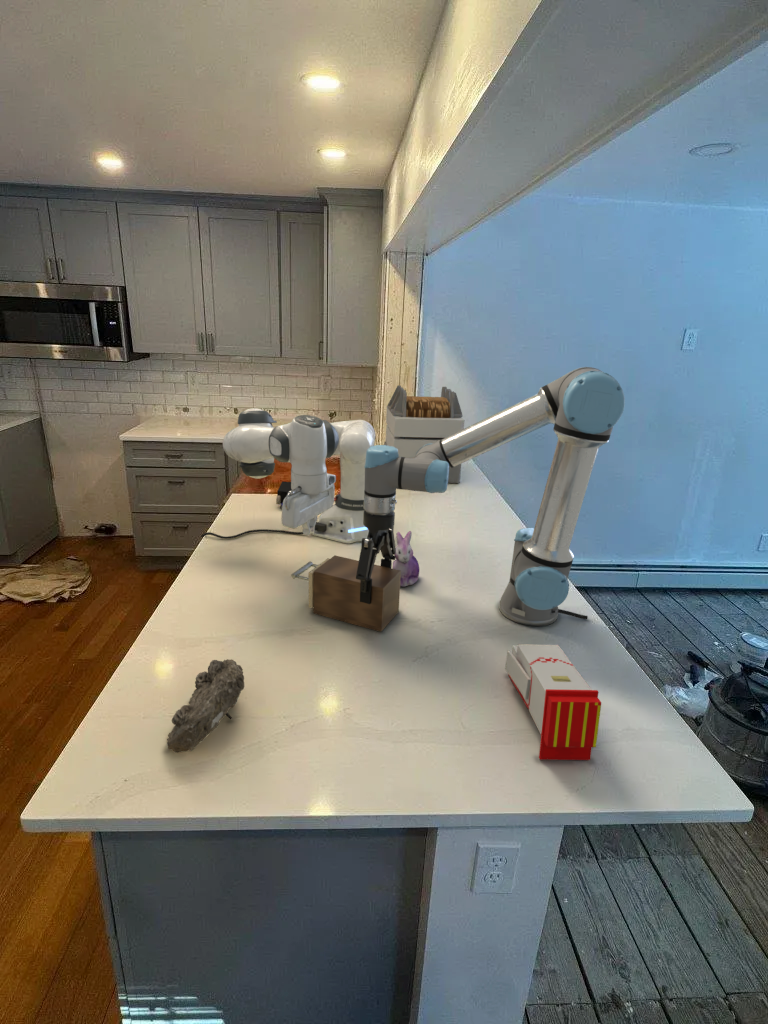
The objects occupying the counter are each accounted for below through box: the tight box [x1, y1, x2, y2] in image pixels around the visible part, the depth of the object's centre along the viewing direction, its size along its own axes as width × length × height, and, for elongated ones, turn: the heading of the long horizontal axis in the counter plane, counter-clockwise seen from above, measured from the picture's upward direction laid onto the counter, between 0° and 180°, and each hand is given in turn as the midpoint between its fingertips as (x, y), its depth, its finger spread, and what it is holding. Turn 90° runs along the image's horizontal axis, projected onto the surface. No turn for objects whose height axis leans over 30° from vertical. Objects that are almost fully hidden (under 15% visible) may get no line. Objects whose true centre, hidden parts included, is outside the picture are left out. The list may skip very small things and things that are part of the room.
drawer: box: [290, 558, 330, 609], centre depth 147 cm, size 24×10×10 cm, turn 66°
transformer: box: [383, 384, 465, 484], centre depth 268 cm, size 34×33×41 cm
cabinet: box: [312, 554, 401, 633], centre depth 145 cm, size 19×11×12 cm, turn 66°
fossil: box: [166, 658, 245, 754], centre depth 106 cm, size 22×10×15 cm
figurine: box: [392, 530, 420, 588], centre depth 163 cm, size 9×10×15 cm
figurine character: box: [275, 480, 292, 509], centre depth 223 cm, size 7×8×15 cm
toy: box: [504, 643, 602, 761], centre depth 112 cm, size 12×13×30 cm
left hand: (308, 533), depth 146 cm, fingers closed
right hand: (375, 592), depth 143 cm, fingers closed on cabinet, 11 cm apart
